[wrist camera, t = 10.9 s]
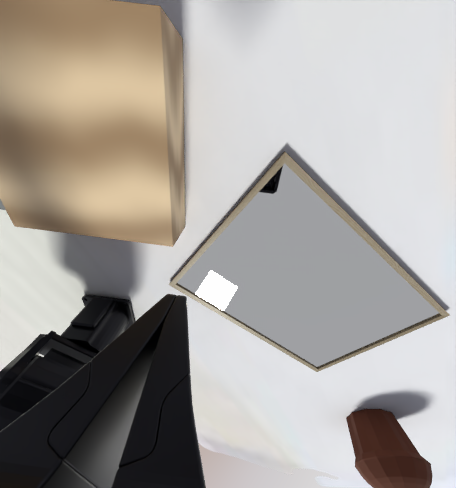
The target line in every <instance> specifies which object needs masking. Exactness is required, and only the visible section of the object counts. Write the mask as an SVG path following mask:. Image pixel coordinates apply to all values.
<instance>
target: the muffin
mask: <svg viewBox="0 0 456 488" xmlns="http://www.w3.org/2000/svg"><path fill="white" fill-rule="evenodd" d="M346 419H347V423H348V427H349V432H350V436H351V440H352V444H353V448H354V453H355V457H356V459H355V467H356V468H357V470H358V471H359V473H360V474H361V476H362V477H363V478H364V479H365V480H366V482H367V483H368V484H370V485H371V486H372V487H373V488H430V485H431V483H432V471H431V464H430V463H429V462H428V461H427V460H425V459H424V458H423V457H422V456H420V454H419V453H418V451H417V450H416V448H415V447H414V445H413V444H412V442H411V441H410V439H409V438H408V436H407V435H406V433H405V432H404V430H403V429H402V427H401V426H400V424H399V423H398V421H397V420H396V418H395V417H394V415H393V414H392V412H388V411H384V410H382V409H363V410H360V411H356V412H352V413H351V414H350V415H349V416H348V417H347V418H346Z"/></svg>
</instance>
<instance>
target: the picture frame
mask: <svg viewBox="0 0 456 488" xmlns="http://www.w3.org/2000/svg"><path fill="white" fill-rule="evenodd" d="M169 285H170V286H172V287H174V288H175V289H177V290H179V291H180V292H182V293H184V294H185V295H187V296H189V297H191V298H192V299H194V300H196V301H197V302H199V303H201V304H202V305H204V306H206V307H208V308H209V309H211V310H213V311H214V312H216V313H218V314H219V315H221V316H223V317H224V318H226V319H228V320H230V321H231V322H233V323H235V324H236V325H238V326H240V327H241V328H243V329H245V330H247V331H248V332H250V333H252V334H253V335H255V336H257V337H258V338H260V339H262V340H264V341H265V342H267V343H269V344H270V345H272V346H274V347H275V348H277V349H279V350H281V351H282V352H284V353H286V354H287V355H289V356H291V357H292V358H294V359H296V360H297V361H299V362H301V363H303V364H304V365H306V366H308V367H309V368H311V369H313V370H314V371H316V372H318V371H321V370H323V369H325V368H328V367H330V366H332V365H335V364H337V363H339V362H342V361H344V360H346V359H349V358H351V357H353V356H356V355H358V354H360V353H363V352H365V351H367V350H370V349H372V348H374V347H377V346H379V345H381V344H384V343H386V342H389V341H391V340H393V339H396V338H398V337H400V336H403V335H405V334H407V333H410V332H412V331H414V330H417V329H419V328H421V327H424V326H426V325H428V324H431V323H433V322H435V321H438V320H440V319H442V318H445V317H447V316H449V314H448V313H447V312H446V311H445V310H444V309H443V308H442V307H441V306H440V305H439V304H438V303H437V302H436V301H435V300H434V299H433V298H432V297H431V296H430V295H429V294H428V293H427V292H426V291H425V290H424V289H423V288H422V287H421V286H420V285H419V284H418V283H417V282H416V281H415V280H414V279H413V278H412V277H411V276H410V275H409V274H408V273H407V272H406V271H405V270H404V269H403V268H402V267H401V266H400V265H399V264H398V263H397V262H396V261H395V260H394V259H393V258H392V257H391V256H390V255H389V254H388V253H387V252H386V251H385V250H384V249H383V248H382V247H381V246H380V245H379V244H378V243H377V242H376V241H375V240H374V239H373V238H372V237H371V236H370V235H369V234H368V233H367V232H366V231H365V230H364V229H363V228H362V227H361V226H360V225H359V224H358V223H357V222H356V221H354V220H353V219H352V218H351V217H350V216H349V215H348V214H347V213H346V212H345V211H344V210H343V209H342V208H341V207H340V206H339V205H338V204H337V203H336V202H335V201H334V200H333V199H332V198H331V197H330V196H329V195H328V194H327V193H326V192H325V191H324V190H323V189H322V188H321V187H320V186H319V185H318V184H317V183H316V182H315V181H314V180H313V179H312V178H311V177H310V176H309V175H308V174H307V173H306V172H305V171H304V170H303V169H302V168H301V167H300V166H299V165H298V164H297V163H296V162H295V161H294V160H293V159H292V158H291V157H290V156H289V155H288V154H287V153H286V152H283V153H282V155H281V156H280V157H279V158H278V159H277V160H276V161H275V163H274V164H273V165H272V166H271V167H270V168H269V170H268V171H267V172H266V173H265V174H264V175H263V176H262V178H261V179H260V180H259V181H258V182H257V183H256V184H255V186H254V187H253V188H252V189H251V190H250V191H249V192H248V194H247V195H246V196H245V197H244V198H243V199H242V200H241V202H240V203H239V204H238V205H237V206H236V207H235V209H234V210H233V211H232V212H231V213H230V214H229V215H228V217H227V218H226V219H225V220H224V221H223V222H222V223H221V225H220V226H219V227H218V228H217V229H216V230H215V231H214V233H213V234H212V235H211V236H210V237H209V238H208V239H207V241H206V242H205V243H204V244H203V245H202V246H201V248H200V249H199V250H198V251H197V252H196V253H195V254H194V256H193V257H192V258H191V259H190V260H189V261H188V262H187V264H186V265H185V266H184V267H183V268H182V269H181V270H180V272H179V273H178V274H177V275H176V276H175V277H174V278H173V280H172V281H171V282H170V284H169Z"/></svg>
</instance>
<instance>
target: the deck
mask: <svg viewBox="0 0 456 488" xmlns="http://www.w3.org/2000/svg"><path fill="white" fill-rule="evenodd" d="M0 199H1V201H2V203H3V205H4V207H5V209H6V211H7V213H8V215H9V217H10V219H11V220H12V222H13V224H14V226H16V227H24V228H32V229H40V230H47V231H55V232H63V233H71V234H79V235H86V236H94V237H102V238H110V239H117V240H125V241H133V242H141V243H149V244H156V245H164V246H172V247H173V246H174V244H175V242H176V241H177V239H178V237H179V236H180V234H181V233H182V231H183V229H184V228H185V177H184V99H183V39H182V37H181V36H180V34H179V33H178V31H177V30H176V28H175V27H174V25H173V24H172V23H171V21H170V20H169V18H168V17H167V15H166V14H165V12H164V11H163V9H162V8H161V6H157V5H148V4H139V3H131V2H122V1H113V0H0Z"/></svg>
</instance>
